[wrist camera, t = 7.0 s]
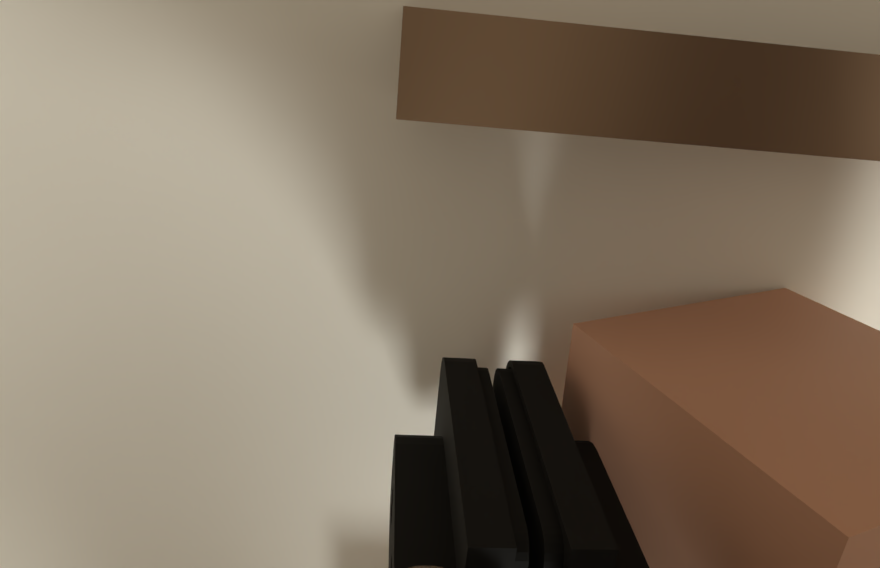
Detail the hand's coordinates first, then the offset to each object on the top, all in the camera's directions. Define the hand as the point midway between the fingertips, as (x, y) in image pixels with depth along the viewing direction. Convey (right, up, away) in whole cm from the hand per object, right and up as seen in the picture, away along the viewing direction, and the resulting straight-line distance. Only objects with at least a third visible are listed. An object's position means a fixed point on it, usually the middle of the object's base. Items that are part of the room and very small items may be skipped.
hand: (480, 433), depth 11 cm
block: (+3, 0, +1) cm, 3 cm away
